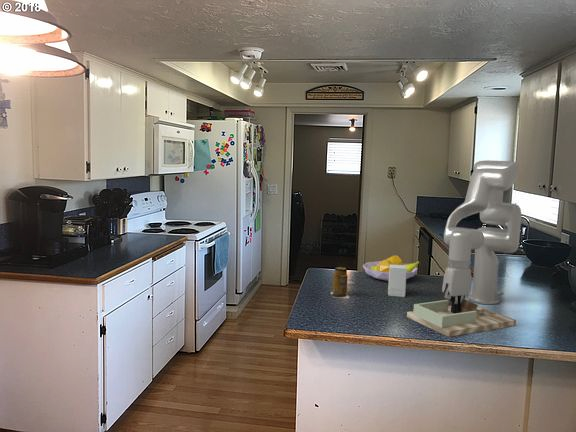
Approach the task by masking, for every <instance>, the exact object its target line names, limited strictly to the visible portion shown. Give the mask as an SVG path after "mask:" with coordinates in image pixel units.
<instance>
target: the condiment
mask: <svg viewBox="0 0 576 432" xmlns="http://www.w3.org/2000/svg"><path fill="white" fill-rule="evenodd" d="M348 277H349V276H348V269H347V267H344V266H337V267H335V268H334V273H333V279H332V280H333V281H332V283H333V284H332V285H333V286H332V291H331V292H330V295H331V297H332V298H335V299H350V296H349V295H348Z"/></svg>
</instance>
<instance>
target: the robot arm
mask: <svg viewBox="0 0 576 432" xmlns="http://www.w3.org/2000/svg"><path fill="white" fill-rule="evenodd" d="M519 175H520V166H519V164H518V163H517V162H516V161H513V160H512V161H511V160H489V159H487V160H479V161H477V162H475V163H474V165H473V172H472V173H471V176H470V179H469V183H468V187H467V191H466V196H465V199H464V202H463V203H462V204H459V206H457V207H456V208H455V209H454V210H453V211H452V212H451V214H449V216H448V218H447V221H446V224H445V228H444V232H443V241H444V243H445V245H446V246H449V247H448V249H449V250H448V261H447V267H445V271H444V274H443V279H442V288H441V290H442V291H441V292H442V293H443V294H444V299H445V300H448V301H449V302H450V303H451V304H450V306H451V313H454V314H456V313H460V312H461V304H462V303H463V300H464V299H465V298H467V299H468V301H470V302H472V303H475V304H481V305H497V304H499V303H500V298H498V297H499V296H503V295H504V294H505V293H504V291H503V290H502V289H501V290H497V288H498V287H497V286H498V274H499V262H500V261H499V258H498V257H497V254H495V252H501V253H508V254H509V253H510V254H513V253H516V252H517V251H518V249H519V246H520V238H521V223H522V210H521V207H520V205H519V204H516V203H511V202H504V200H503V199H504V198H503V197H504V192H505V191H508V190H509V189H510V188H511V187H512V186H513V185H514V184H515V183H516V182H517V180H518V178H519ZM478 213H479V219H480V221H481V223H483V224H487V225H495V226H503V227H506V228H507V229H506V228H498V227H488V226H484V227H479V228H477V229H475V228H468V227H459V226H457V225H458V223H459V222H460V221H461V220H462V219H465V218H467V217H469V216H472V215H475V214H478ZM472 250H474V265H473V278H472V270H471V264H472V261H471V255H472ZM470 293H471V294H470Z"/></svg>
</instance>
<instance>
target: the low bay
mask: <svg viewBox="0 0 576 432" xmlns="http://www.w3.org/2000/svg"><path fill="white" fill-rule="evenodd" d="M449 302H450V300H449V299H444V300H443V299H442V300H435V301H429V302H423V303H422V302H420V303H414V304H413V310H412V311H413V315H415V316H417V317H419V318H421V319H424V320H426V321H428V322H430V323H432V324H434V325H437V326H439V327H441V328H444V327H451V326H457V325H463V324H469V323H475V322H476V319H477V311H470V312H463V313H456V314H449V315H441V314H438V313H436V312H443V311H448V306H450V305H449Z"/></svg>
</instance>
